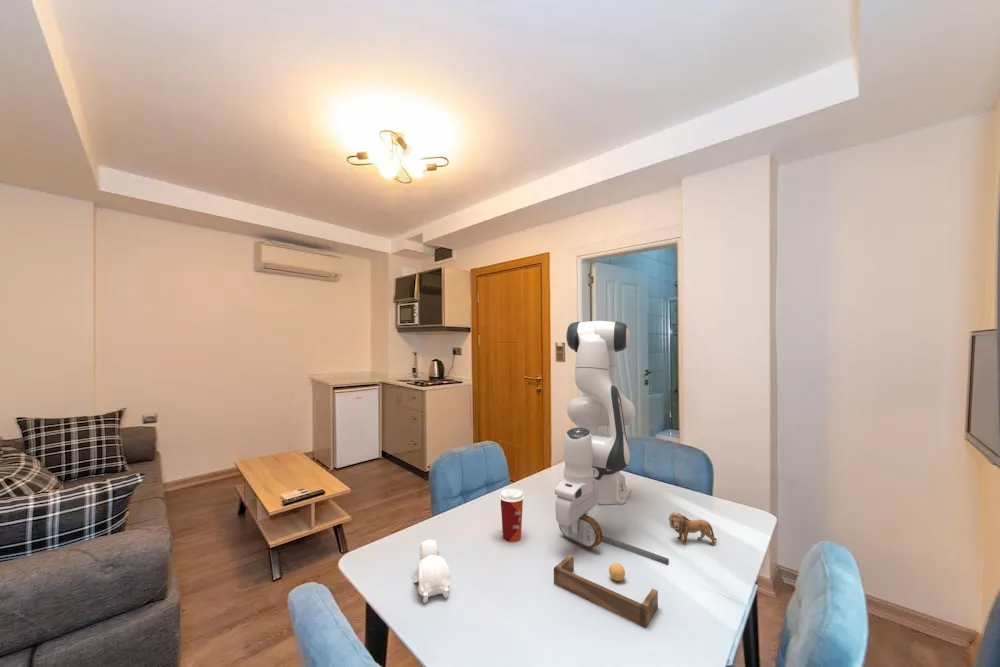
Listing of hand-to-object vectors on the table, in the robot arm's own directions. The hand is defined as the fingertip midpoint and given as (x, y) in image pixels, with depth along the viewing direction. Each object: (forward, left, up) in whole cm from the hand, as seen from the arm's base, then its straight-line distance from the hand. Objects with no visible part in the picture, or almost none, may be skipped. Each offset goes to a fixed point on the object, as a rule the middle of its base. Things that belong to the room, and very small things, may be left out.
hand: (578, 528), depth 117 cm
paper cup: (+10, -18, -5) cm, 21 cm away
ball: (+9, +16, -2) cm, 19 cm away
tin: (+1, 0, -4) cm, 4 cm away
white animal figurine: (+41, -19, -5) cm, 46 cm away
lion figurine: (-23, +26, -5) cm, 35 cm away
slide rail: (-6, +8, -4) cm, 11 cm away
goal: (+17, +16, -4) cm, 24 cm away
